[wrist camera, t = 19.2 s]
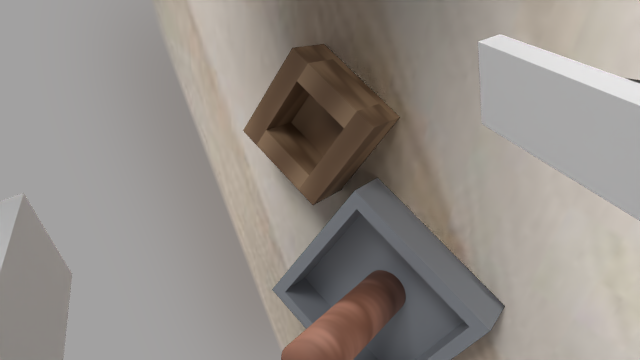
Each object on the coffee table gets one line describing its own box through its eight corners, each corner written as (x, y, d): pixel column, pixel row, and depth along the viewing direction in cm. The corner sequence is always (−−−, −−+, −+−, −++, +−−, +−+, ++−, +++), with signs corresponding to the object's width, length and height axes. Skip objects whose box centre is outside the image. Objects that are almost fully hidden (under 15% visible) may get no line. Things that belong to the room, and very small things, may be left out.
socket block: (274, 121, 55) (243, 130, 51) (323, 44, 50) (292, 47, 46) (340, 189, 53) (312, 205, 49) (399, 117, 47) (373, 127, 43)
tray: (296, 272, 59) (272, 289, 56) (377, 177, 50) (354, 190, 47) (398, 386, 56) (378, 412, 52) (504, 306, 47) (490, 330, 43)
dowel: (357, 286, 54) (272, 360, 43) (382, 261, 52) (298, 333, 40) (387, 319, 53) (309, 404, 42) (414, 296, 51) (338, 379, 39)
